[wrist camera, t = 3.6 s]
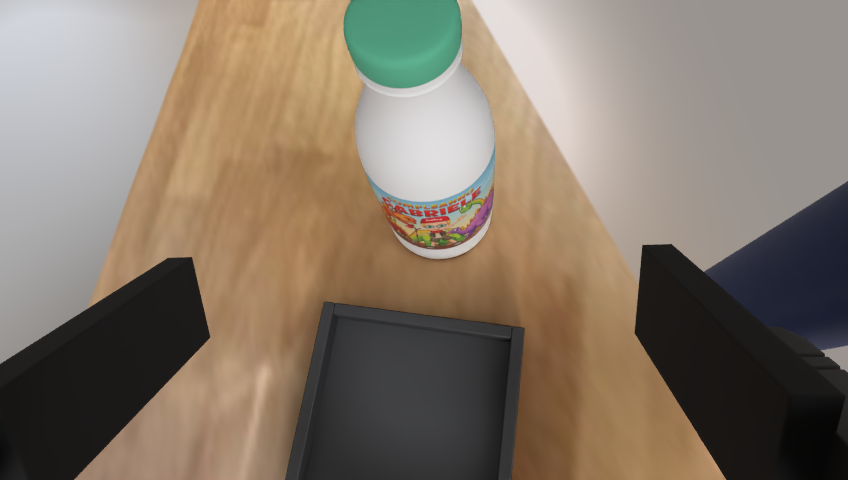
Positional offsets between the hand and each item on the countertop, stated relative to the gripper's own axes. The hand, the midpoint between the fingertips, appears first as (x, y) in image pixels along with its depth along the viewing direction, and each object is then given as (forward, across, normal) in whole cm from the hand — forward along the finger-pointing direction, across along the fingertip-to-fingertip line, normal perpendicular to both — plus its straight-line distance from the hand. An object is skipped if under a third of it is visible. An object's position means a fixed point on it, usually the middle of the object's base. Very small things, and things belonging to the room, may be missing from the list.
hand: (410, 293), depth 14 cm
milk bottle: (+23, 0, -4) cm, 23 cm away
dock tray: (+14, -3, -16) cm, 21 cm away
